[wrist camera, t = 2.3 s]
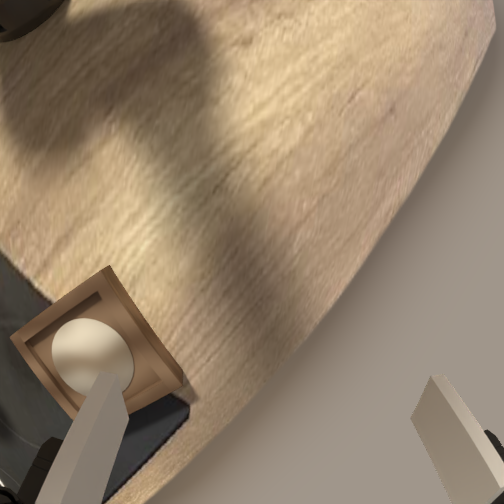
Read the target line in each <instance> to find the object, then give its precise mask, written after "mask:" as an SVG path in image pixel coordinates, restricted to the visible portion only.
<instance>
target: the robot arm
mask: <svg viewBox="0 0 504 504" xmlns="http://www.w3.org/2000/svg"><path fill="white" fill-rule="evenodd" d="M63 1H64V0H0V42H6V41H10V40H13V39H16V38H19V37H21V36H23V35H25V34H26V33H28V32H30V31H32V30H33V29H35V28H36V27H37V26H39V25H40V24H41V23H43V22H44V21H45V20H46V19H47V18H48V17H50V16H51V15H52V14H53V13H54V12H55V10H56V9H57V8H58V7H59V6H60V5H61V3H62V2H63ZM411 420H412V422H413V424H414V426H415V428H416V430H417V432H418V434H419V436H420V438H421V440H422V442H423V444H424V446H425V448H426V450H427V452H428V454H429V456H430V458H431V460H432V462H433V464H434V466H435V469H436V471H437V473H438V475H439V477H440V479H441V481H442V483H443V486H444V488H445V490H446V492H447V494H448V496H449V499H450V501H451V503H452V504H504V448H503V446H501V445H502V444H501V443H500V441H499V440H498V438H497V437H496V436H495V435H494V434H493V433H491V432H490V431H489V430H485V431H483V430H482V428H481V427H480V425H479V424H478V422H477V421H476V419H475V418H474V416H473V415H472V413H471V412H470V410H469V409H468V408H467V406H466V405H465V403H464V402H463V400H462V399H461V398H460V397H459V395H458V393H457V392H456V391H455V389H454V388H453V386H452V385H451V384H450V382H449V381H448V380H447V378H446V377H445V376H444V374H441V375H435V376H431V377H430V378H429V381H428V383H427V385H426V388H425V390H424V392H423V394H422V396H421V398H420V400H419V402H418V404H417V406H416V408H415V410H414V413H413V414H412V416H411ZM128 421H129V417H128V413H127V410H126V406H125V402H124V399H123V395H122V391H121V387H120V383H119V378H118V374H114V373H108V372H102V371H100V373H99V375H98V377H97V378H96V380H95V382H94V384H93V386H92V388H91V389H90V391H89V393H88V395H87V397H86V399H85V401H84V402H83V404H82V406H81V408H80V410H79V412H78V414H77V416H76V418H75V420H74V422H73V424H72V425H71V427H70V429H69V431H68V433H67V435H66V437H65V439H64V440H61V439H57V438H54V437H51V438H50V439H48V440H47V441H46V442H45V443H44V444H42V446H41V448H40V450H39V452H38V454H37V457H35V459H34V461H33V463H32V466H31V467H30V469H29V471H28V473H27V475H26V477H25V479H24V481H23V483H22V485H21V487H20V489H19V492H18V494H17V495H16V494H15V493H14V492H13V491H12V490H11V489H9V488H6V487H0V504H101V501H102V498H103V495H104V492H105V488H106V485H107V482H108V479H109V476H110V473H111V470H112V467H113V464H114V461H115V458H116V455H117V452H118V449H119V446H120V444H121V441H122V438H123V435H124V432H125V429H126V427H127V424H128Z"/></svg>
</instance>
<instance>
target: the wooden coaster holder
mask: <svg viewBox="0 0 504 504" xmlns="http://www.w3.org/2000/svg"><path fill="white" fill-rule="evenodd" d="M10 338H11V340H12V341H13V343H14V345H15V346H16V348H17V349H18V351H19V352H20V353H21V355H22V356H23V358H24V359H25V361H26V362H27V363H28V365H29V366H30V368H31V369H32V370H33V372H34V373H35V374H36V376H37V377H38V378H39V380H40V381H41V382H42V384H43V385H44V386H45V387H46V389H47V390H48V391H49V392H50V394H51V395H52V396H53V397H54V399H55V400H56V401H57V402H58V403H59V405H60V406H61V407H62V408H63V409H64V410H65V412H66V413H67V414H68V415H69V416H70V417H71V418H72V419H73V421H74V420H75V418H76V416H77V414H78V412H79V410H80V408H81V406H82V404H83V402H84V401H85V399H86V397H87V395H88V393H89V391H90V389H91V388H92V386H93V384H94V382H95V380H96V378H97V377H98V375H99V373H100V371H102V372H108V373H114V374H118V378H119V383H120V387H121V391H122V395H123V399H124V402H125V406H126V410H127V413H128V415H129V414H131V413H133V412H135V411H137V410H139V409H141V408H143V407H145V406H147V405H149V404H150V403H152V402H154V401H156V400H158V399H160V398H162V397H164V396H165V395H167V394H169V393H171V392H173V391H175V390H176V389H178V388H180V387H182V386H183V370H182V369H181V367H180V366H179V365H178V364H177V362H176V361H175V360H174V358H173V357H172V356H171V354H170V353H169V352H168V350H167V349H166V348H165V346H164V345H163V344H162V342H161V341H160V339H159V338H158V337H157V335H156V334H155V333H154V331H153V330H152V328H151V327H150V326H149V324H148V323H147V321H146V320H145V318H144V317H143V316H142V314H141V313H140V311H139V310H138V308H137V307H136V305H135V304H134V302H133V301H132V299H131V298H130V296H129V295H128V293H127V292H126V290H125V289H124V287H123V286H122V284H121V282H120V281H119V279H118V278H117V276H116V275H115V273H114V271H113V270H112V268H111V266H110V265H109V266H107V267H105V268H104V269H102V270H100V271H99V272H98V273H96V274H95V275H93V276H92V277H90V278H89V279H87V280H86V281H85V282H83V283H82V284H80V285H79V286H77V287H76V288H75V289H73V290H72V291H70V292H69V293H68V294H66V295H65V296H63V297H62V298H61V299H59V300H58V301H57V302H55V303H54V304H52V305H51V306H50V307H48V308H47V309H46V310H44V311H43V312H42V313H40V314H39V315H38V316H36V317H35V318H34V319H32V320H31V321H30V322H28V323H27V324H26V325H25V326H23V327H22V328H21V329H19V330H18V331H17V332H15V333H14V334H13V335H12V336H10Z"/></svg>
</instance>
